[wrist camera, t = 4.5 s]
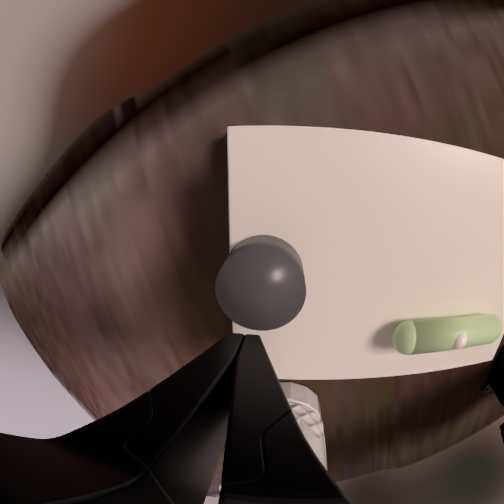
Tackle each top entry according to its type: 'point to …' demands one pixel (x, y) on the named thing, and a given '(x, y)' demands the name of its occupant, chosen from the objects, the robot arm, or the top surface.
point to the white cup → (307, 417)
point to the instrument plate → (363, 251)
